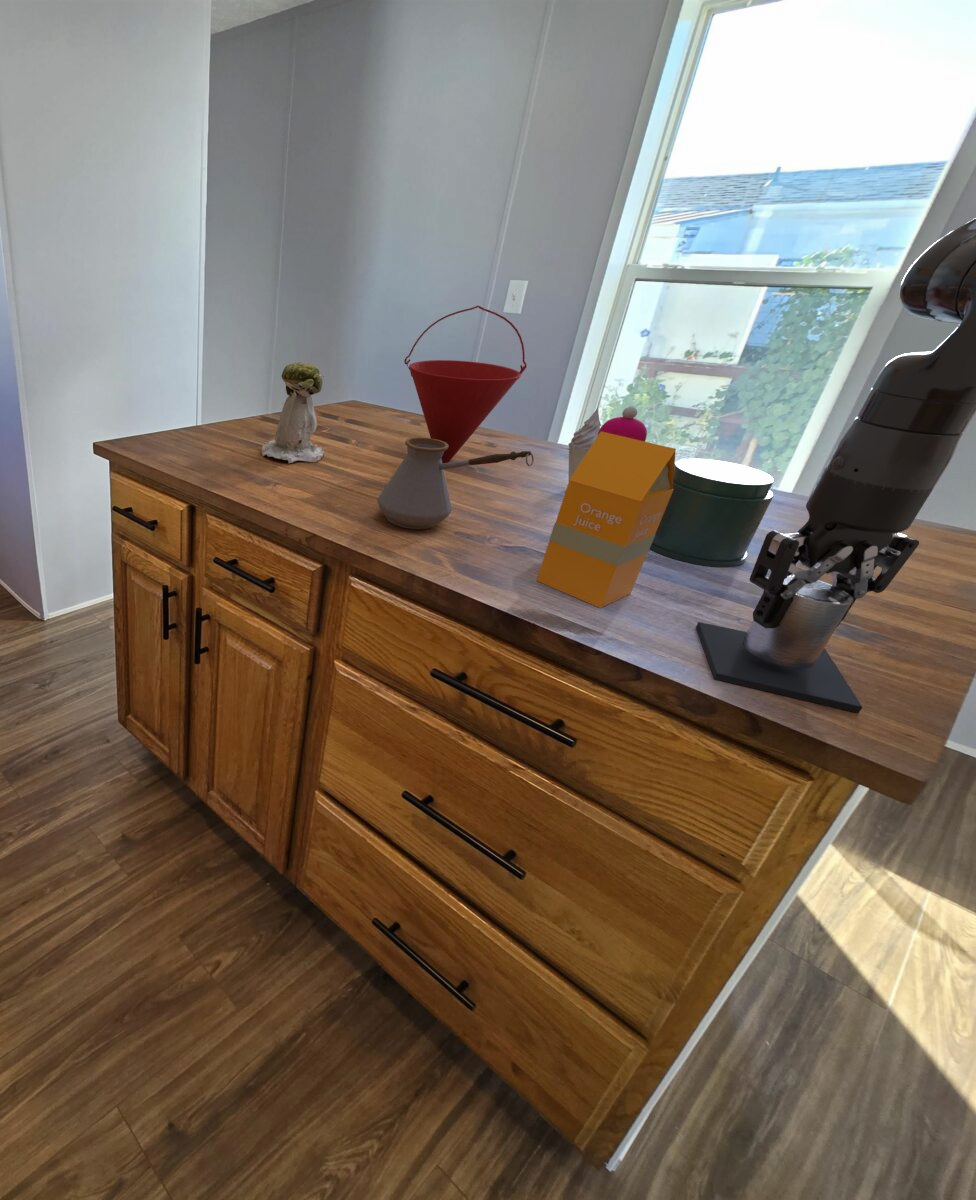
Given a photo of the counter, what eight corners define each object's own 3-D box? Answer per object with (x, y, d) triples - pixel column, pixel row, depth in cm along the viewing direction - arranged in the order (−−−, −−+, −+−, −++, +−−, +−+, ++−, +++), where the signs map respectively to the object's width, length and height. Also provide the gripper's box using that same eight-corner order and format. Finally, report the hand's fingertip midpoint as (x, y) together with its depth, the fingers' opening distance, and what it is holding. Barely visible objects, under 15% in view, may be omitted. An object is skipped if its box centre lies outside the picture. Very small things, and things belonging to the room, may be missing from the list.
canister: (734, 539, 103) (770, 465, 97) (755, 575, 92) (797, 494, 86) (632, 522, 108) (660, 451, 102) (641, 554, 97) (672, 476, 91)
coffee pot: (361, 519, 107) (376, 427, 100) (397, 502, 114) (414, 415, 107) (489, 562, 94) (518, 460, 87) (521, 540, 101) (550, 444, 94)
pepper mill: (558, 523, 107) (599, 399, 97) (608, 530, 105) (656, 404, 95) (562, 540, 101) (607, 409, 91) (616, 548, 99) (667, 415, 89)
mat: (821, 653, 75) (825, 647, 74) (858, 713, 65) (863, 707, 65) (695, 627, 79) (698, 621, 79) (713, 679, 70) (717, 673, 70)
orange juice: (566, 567, 93) (616, 427, 83) (631, 593, 86) (693, 444, 77) (534, 580, 89) (582, 435, 79) (600, 608, 83) (661, 454, 73)
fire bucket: (489, 458, 138) (530, 302, 123) (508, 489, 121) (558, 313, 106) (384, 449, 142) (410, 298, 127) (388, 478, 125) (419, 308, 110)
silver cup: (804, 646, 73) (841, 582, 69) (821, 675, 68) (863, 609, 64) (735, 632, 75) (768, 569, 71) (748, 659, 70) (783, 594, 66)
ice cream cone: (585, 495, 119) (614, 412, 111) (554, 490, 121) (580, 408, 113) (585, 487, 122) (613, 406, 115) (555, 482, 125) (581, 402, 117)
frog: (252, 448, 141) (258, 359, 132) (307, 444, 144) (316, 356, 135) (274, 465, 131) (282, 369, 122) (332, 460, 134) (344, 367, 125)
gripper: (845, 486, 58) (758, 644, 66) (997, 486, 58) (892, 643, 67) (773, 460, 64) (702, 607, 72) (910, 460, 65) (825, 606, 73)
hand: (793, 623), depth 70 cm, fingers closed on silver cup, 6 cm apart
